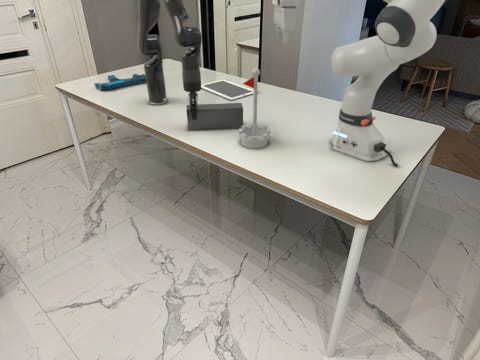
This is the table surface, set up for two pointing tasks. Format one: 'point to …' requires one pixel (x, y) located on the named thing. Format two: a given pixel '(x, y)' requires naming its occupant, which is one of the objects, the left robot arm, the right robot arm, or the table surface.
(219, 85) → the tablet
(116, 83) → the submachine gun
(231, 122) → the box
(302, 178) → the table surface
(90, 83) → the table surface
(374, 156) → the right robot arm
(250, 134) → the flag stand
